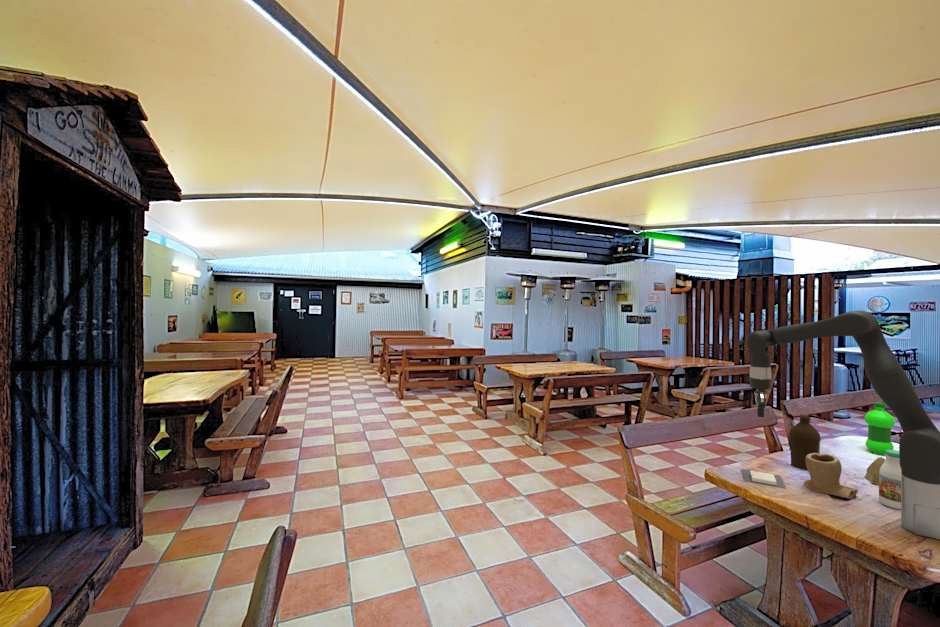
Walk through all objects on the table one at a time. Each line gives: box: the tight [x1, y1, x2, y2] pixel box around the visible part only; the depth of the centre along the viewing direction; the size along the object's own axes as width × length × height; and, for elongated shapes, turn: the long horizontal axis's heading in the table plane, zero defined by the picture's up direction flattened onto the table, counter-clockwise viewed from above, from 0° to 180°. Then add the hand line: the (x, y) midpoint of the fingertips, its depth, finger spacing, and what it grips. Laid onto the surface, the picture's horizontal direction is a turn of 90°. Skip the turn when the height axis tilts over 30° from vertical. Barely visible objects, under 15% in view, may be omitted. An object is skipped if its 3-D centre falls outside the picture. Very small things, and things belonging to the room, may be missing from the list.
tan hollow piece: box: [803, 453, 859, 500], centre depth 150 cm, size 15×12×15 cm
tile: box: [750, 470, 777, 486], centre depth 160 cm, size 2×8×8 cm
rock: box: [864, 456, 886, 486], centre depth 161 cm, size 11×9×10 cm
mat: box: [740, 468, 787, 490], centre depth 161 cm, size 14×14×1 cm
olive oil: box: [788, 413, 822, 472], centre depth 172 cm, size 11×11×25 cm
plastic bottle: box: [864, 401, 896, 456], centre depth 190 cm, size 10×10×25 cm
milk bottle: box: [878, 449, 901, 510], centre depth 141 cm, size 8×8×20 cm
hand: (760, 416), depth 165 cm, fingers closed
